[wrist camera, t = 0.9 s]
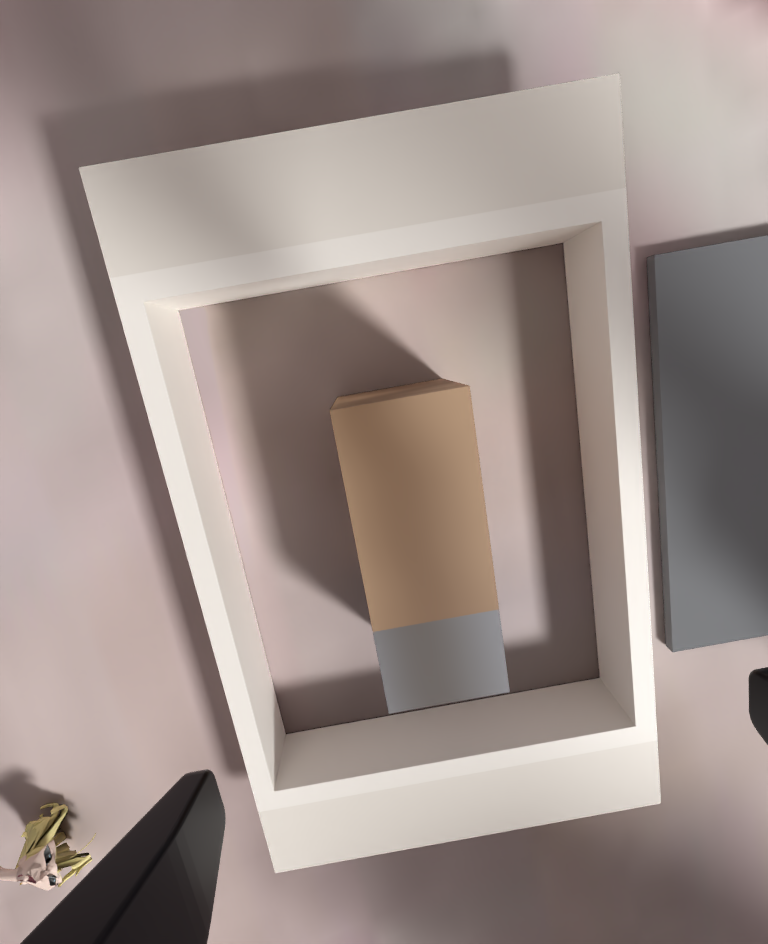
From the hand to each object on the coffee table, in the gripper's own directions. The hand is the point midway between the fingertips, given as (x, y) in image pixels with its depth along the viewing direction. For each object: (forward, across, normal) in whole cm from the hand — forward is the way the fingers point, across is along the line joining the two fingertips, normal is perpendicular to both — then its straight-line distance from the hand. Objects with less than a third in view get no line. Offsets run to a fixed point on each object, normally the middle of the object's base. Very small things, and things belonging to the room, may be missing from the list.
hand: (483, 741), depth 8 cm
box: (+12, 0, 0) cm, 12 cm away
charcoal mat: (+12, -15, 0) cm, 19 cm away
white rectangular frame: (+12, 0, 0) cm, 12 cm away
